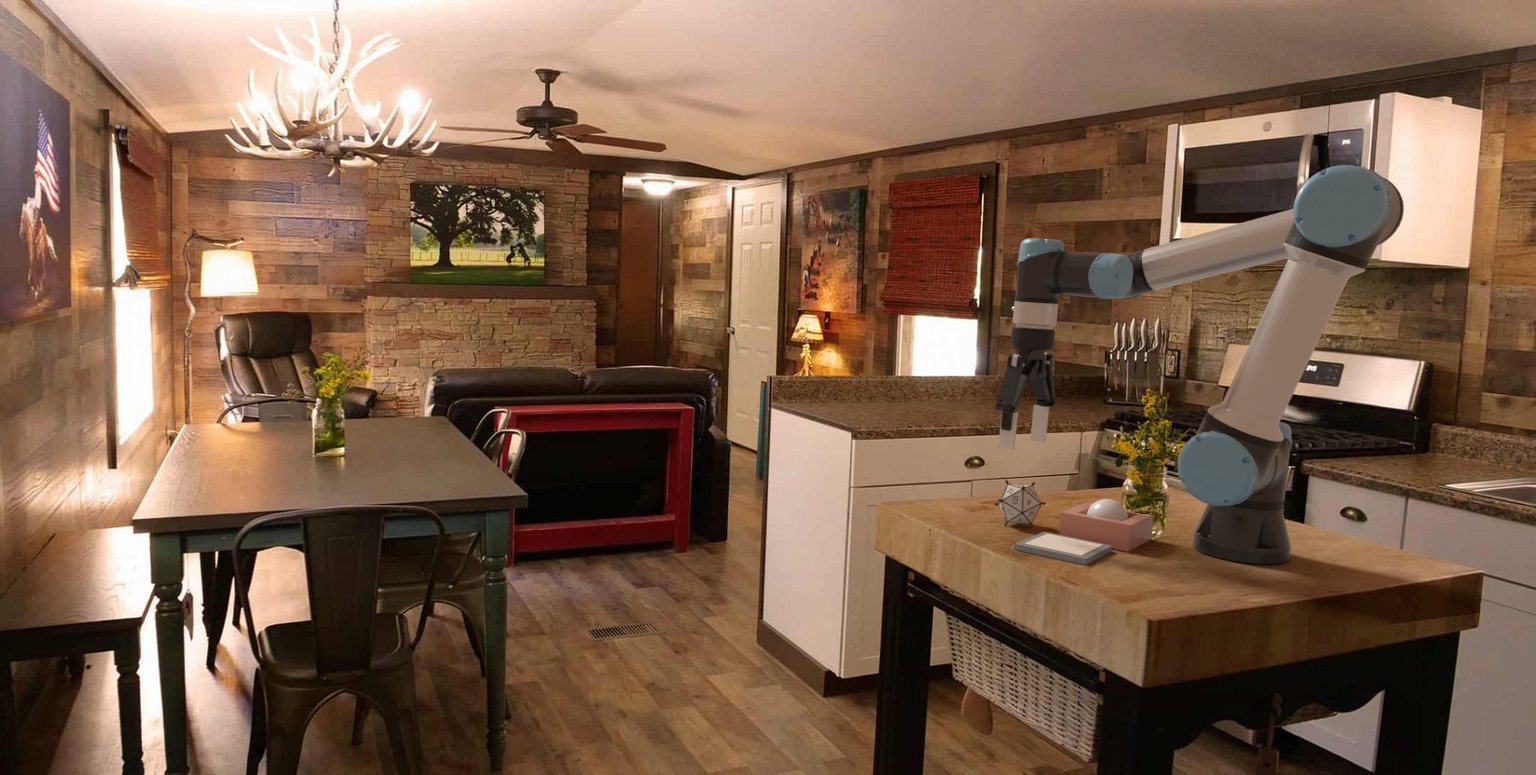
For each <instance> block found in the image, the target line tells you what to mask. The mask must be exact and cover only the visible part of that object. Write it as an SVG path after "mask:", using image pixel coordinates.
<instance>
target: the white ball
mask: <svg viewBox="0 0 1536 775" xmlns="http://www.w3.org/2000/svg"><path fill="white" fill-rule="evenodd" d="M1125 509H1126V508H1125V507H1124V505H1122V503H1120V502H1119V501H1118V500H1114V499H1111V498H1103V499H1099V500H1096V501H1095V502H1093V504H1092V505H1091V506H1090V508H1089V509H1088V511H1087V515H1092V516H1098V517H1103V518H1108V519H1114V520H1119V521H1124V520H1126V519H1128V514H1127V511H1126V510H1127V509H1126V510H1125Z"/></svg>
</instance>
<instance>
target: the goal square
mask: <svg viewBox="0 0 1536 775" xmlns="http://www.w3.org/2000/svg"><path fill="white" fill-rule="evenodd" d="M1013 546H1014V547H1013V550H1014V551H1018V550H1019V551H1018V552H1022V551H1023V553H1028V554H1033V555H1038V556H1041V557H1047V558H1051V559H1056V560H1059V561H1064V562H1069V563H1074V564H1078V565H1083V566H1086V565H1089V564H1090V563H1092V562H1094V561H1096V560H1098V559H1100V558H1102V557H1104V556H1106V555H1108V554H1110V553H1112V552H1113V549H1112V545H1107V544H1102V543H1097V542H1092V541H1087V540H1082V539H1078V538H1073V537H1068V536H1063V535H1059V533H1053V532H1046V531H1042V532H1040V533H1038V534H1035V535H1033V536H1030V537H1027V538H1025V539H1023V540H1021V541H1018V542H1016V543H1014V544H1013Z"/></svg>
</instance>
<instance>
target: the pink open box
mask: <svg viewBox="0 0 1536 775" xmlns="http://www.w3.org/2000/svg"><path fill="white" fill-rule="evenodd" d="M1093 503H1094V502H1093ZM1093 503H1092V502H1085V503H1082V504H1079V505H1077V506H1073V507H1071V508H1069V509H1067V510H1064V511H1061V513H1060V521H1059V522H1060V523H1059V524H1060V525H1059V533H1058V535H1063V536H1068V537H1073V538H1078V539H1082V540H1087V541H1092V542H1097V543H1102V544H1107V545H1112V550H1118V551H1123V552H1128V553H1129V552H1130V551H1132V550H1135V549H1136V548H1138V547H1139V546H1142V545H1143V544H1145V543H1148V542H1150V541H1151V540H1152V535H1153V526H1154V525H1153V524H1154V516H1153V515H1150V514H1151V513H1149V514H1140V513H1135V512H1131V511H1127V510H1128V509H1126V511H1127V514H1128V519H1126V520H1124V521H1119V520H1114V519H1108V518H1103V517H1098V516H1092V515H1087V511H1088V509H1089V508H1090V506H1091V505H1092V504H1093Z"/></svg>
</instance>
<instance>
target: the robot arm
mask: <svg viewBox="0 0 1536 775" xmlns="http://www.w3.org/2000/svg"><path fill="white" fill-rule="evenodd" d="M1404 211H1405V206H1404V200H1403V197H1402V195H1401V192H1400V191H1399V189H1398V188H1397V187H1396V186H1395V184H1394V183H1393V182H1391V181H1390V180H1389V179H1387V178H1385V177H1383V176H1382V175H1380V174H1379V173H1378V172H1376V171H1374V170H1372V169H1368V168H1367V167H1365V166H1358V165H1353V164H1350V165H1347V164H1342V165H1335V166H1331V167H1326V168H1324V169H1322V170H1320V171H1318V172H1316V173H1315V174H1313V175H1312V176H1311V177H1310V178H1308V179H1307V180H1305V182H1304V184H1303V185H1302V186H1301V187H1300V189H1299V191H1297V194H1296V197H1295V199H1294V202H1293V208H1291V209H1288V210H1284V211H1280V212H1277V213H1273V214H1268V215H1266V216H1262V217H1258V218H1255V219H1252V220H1247V221H1244V222H1240V223H1237V224H1232V225H1230V226H1229V225H1228V226H1226V227H1221V228H1219V229H1215V230H1210V231H1207V232H1204V233H1200V234H1196V235H1192V236H1188V237H1185V238H1182V239H1177V240H1174V241H1170V242H1168V243H1167V242H1166V243H1163V244H1159V245H1156V246H1153V247H1149V248H1145V249H1142V250H1138V251H1133V252H1129V253H1126V254H1122V253H1113V252H1078V251H1077V252H1076V251H1066V250H1065V248H1064V247H1065V246H1064V245H1065V244H1064V242H1063V241H1062V240H1061V239H1051V238H1035V237H1034V238H1029V237H1028V238H1025V239H1023V240H1022V241H1021V243H1020V247H1019V252H1018V258H1017V259H1018V260H1017V262H1016V266H1017V270H1016V286H1015V295H1014V296H1015V297H1014V305H1013V306H1012V307H1011V310H1012V311H1013V316H1012V322H1013V323H1014V324H1015V326H1013V327H1012V328H1011V332H1010V333H1011V334H1010V335H1011V336H1010V346H1011V347H1012V348H1015V349H1017V354H1012V353H1009V355H1008V359H1007V364H1006V369H1005V372H1004V376H1003V380H1002V382H1001V386H1000V389H999V392H998V396H997V399H996V402H995V410H996V411H1000V412H1001V415H1000V425H999V436H998V437H999V438H998V445H997V448H1000V449H1006V450H1012V451H1013V450H1015V447H1016V437H1017V429H1018V428H1017V426H1018V425H1017V424H1018V415H1019V413H1018V411H1017V412H1016V410H1017V408H1018V405H1019V404H1020V402H1021V399H1022V396H1023V394H1024V391H1025V389H1026V387H1027V384H1028V383H1029V384H1031V388H1032V392H1033V396H1034V399H1035V403H1036V404H1034V405H1033V408H1032V418H1031V429H1030V431H1031V432H1030V438H1029V439H1030V441H1034V442H1041V443H1046V442H1047V434H1048V432H1047V431H1048V424H1049V412H1050V408H1051V407H1052V408H1053V407H1055V405H1056V392H1055V390H1056V388H1055V381H1054V374H1053V373H1054V372H1053V353H1052V352H1046V351H1052V350H1053V349H1054V347H1055V338H1056V337H1055V336H1056V331H1055V329H1054V327H1055V326H1057V321H1058V310H1059V309H1058V308H1059V299H1060V298H1059V296H1060V295H1061V296H1074V297H1075V296H1076V297H1086V298H1087V297H1088V298H1098V299H1102V300H1112V299H1121V300H1131V299H1135V298H1138V297H1141V296H1142V295H1144V294H1147V293H1151V292H1154V291H1157V290H1158V291H1159V290H1163V289H1166V288H1169V287H1174V286H1179V285H1183V284H1187V283H1191V282H1195V281H1199V280H1202V279H1206V278H1207V279H1208V278H1210V277H1211V278H1212V277H1216V276H1220V275H1225V274H1228V273H1232V272H1236V271H1240V270H1243V269H1249V268H1252V267H1253V268H1254V267H1257V266H1261V265H1265V264H1269V263H1274V262H1278V261H1282V260H1286V259H1287V261H1286V263H1285V266H1284V269H1283V271H1282V272H1281V275H1280V277H1279V279H1278V281H1277V282H1276V285H1275V288H1274V290H1273V292H1272V294H1271V297H1270V298H1269V301H1268V303H1267V305H1266V307H1265V309H1264V311H1263V314H1262V315H1261V318H1260V320H1259V322H1258V325H1257V327H1256V329H1255V331H1254V333H1253V336H1252V338H1251V340H1250V342H1249V344H1248V346H1247V349H1246V351H1245V352H1244V355H1243V358H1241V362H1240V364H1239V365H1238V368H1237V370H1236V373H1235V375H1234V377H1233V379H1232V381H1231V384H1230V385H1229V388H1228V389H1227V391H1226V394H1225V396H1224V399H1223V400H1222V402H1220V403H1218V404H1216V405H1212V406H1209V407H1208V409H1207V411H1206V413H1205V415H1204V417H1203V420H1202V421H1201V424H1200V426H1199V428H1198V430H1197V432H1196V435H1194V436H1192V437H1190V439H1188V441H1186V443H1185V444H1184V445H1183V447H1181V449H1180V452H1179V454H1178V458H1177V473H1178V476H1179V479H1180V481H1181V483H1182V485H1183V487H1184V488H1185V490H1186V491H1187V492H1188V493H1189V494H1190V495H1191V496H1193V497H1194V498H1195V499H1196V500H1198V501H1200V502H1202V503H1204V504H1206V506H1205V509H1204V511H1203V512H1202V515H1201V518H1200V519H1199V521H1198V523H1197V525H1196V528H1195V530H1194V533H1193V538H1192V548H1194V549H1195V550H1196V551H1199V552H1200V553H1202V554H1206V555H1208V556H1212V557H1215V558H1218V559H1219V558H1220V559H1223V560H1228V561H1234V562H1238V563H1239V562H1240V563H1246V564H1254V565H1255V564H1257V565H1279V564H1278V563H1281V564H1284V563H1283V562H1285V563H1287V562H1286V561H1288V560H1289V559H1291V552H1292V547H1291V546H1292V545H1291V542H1290V538H1289V537H1290V536H1289V532H1288V529H1287V525H1286V520H1285V516H1284V506H1285V505H1284V504H1285V498H1286V489H1287V480H1288V472H1289V462H1290V452H1291V447H1292V444H1293V440H1292V428H1291V426H1290V425H1289V424H1287V423H1285V422H1281V421H1282V417H1283V416H1284V414H1285V411H1286V409H1287V408H1288V405H1289V403H1290V401H1291V399H1292V397H1293V395H1294V392H1295V390H1296V389H1297V386H1298V385H1299V382H1300V380H1301V378H1302V377H1303V374H1304V371H1305V369H1307V368H1306V367H1307V365H1308V364H1309V362H1310V359H1311V357H1312V355H1313V353H1314V351H1315V349H1316V347H1317V345H1318V343H1319V340H1320V339H1321V337H1322V335H1323V333H1324V330H1325V328H1326V327H1327V324H1328V322H1329V320H1330V318H1331V316H1332V314H1333V312H1334V309H1335V307H1336V306H1337V303H1338V302H1339V300H1340V297H1341V295H1342V294H1343V290H1344V289H1345V287H1346V284H1347V283H1348V280H1349V279H1350V278H1352V277H1354V276H1356V275H1360V274H1361V273H1364V272H1365V271H1366V269H1367V267H1368V265H1369V263H1370V261H1371V259H1372V257H1373V255H1374V253H1375V251H1376V249H1377V247H1378V246H1380V245H1382V244H1383V243H1385V242H1386V241H1388V240H1390V238H1391V237H1393V235H1394V234H1395V233H1396V232H1397V230H1398V229H1399V227H1400V225H1401V223H1402V220H1403V218H1404ZM1289 561H1290V560H1289ZM1289 561H1288V562H1289Z"/></svg>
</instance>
